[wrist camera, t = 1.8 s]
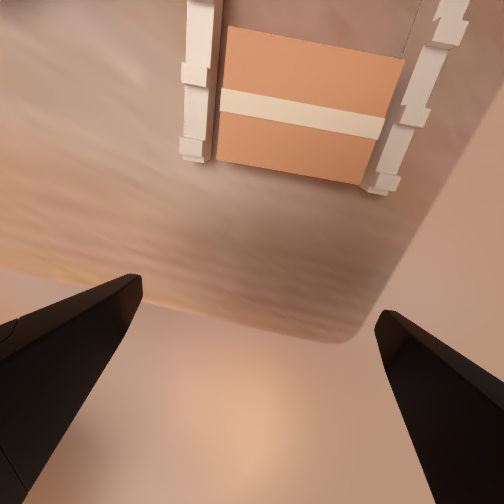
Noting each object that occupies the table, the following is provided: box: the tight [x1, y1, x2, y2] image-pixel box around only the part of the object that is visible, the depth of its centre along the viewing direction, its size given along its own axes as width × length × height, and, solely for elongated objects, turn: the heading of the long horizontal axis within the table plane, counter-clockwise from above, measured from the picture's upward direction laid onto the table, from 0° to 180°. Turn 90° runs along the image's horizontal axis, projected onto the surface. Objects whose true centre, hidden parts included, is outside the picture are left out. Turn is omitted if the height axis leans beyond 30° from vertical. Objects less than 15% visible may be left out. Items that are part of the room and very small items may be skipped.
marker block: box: [216, 26, 405, 185], centre depth 17 cm, size 10×7×4 cm
